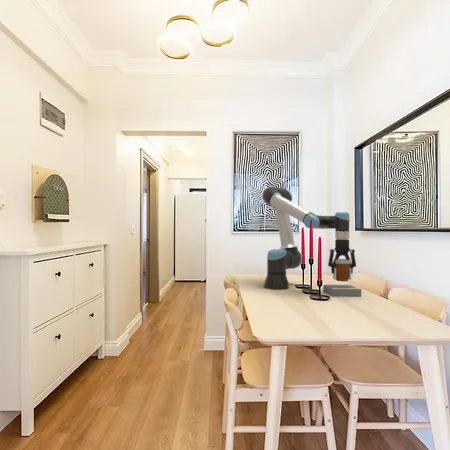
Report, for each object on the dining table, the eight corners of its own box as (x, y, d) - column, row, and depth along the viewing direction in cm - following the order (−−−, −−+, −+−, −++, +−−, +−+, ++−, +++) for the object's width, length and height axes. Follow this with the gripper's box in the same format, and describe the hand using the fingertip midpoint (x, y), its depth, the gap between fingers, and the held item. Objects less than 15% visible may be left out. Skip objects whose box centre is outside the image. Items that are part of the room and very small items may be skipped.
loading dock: (332, 296, 179) (332, 288, 179) (323, 291, 193) (323, 284, 193) (361, 296, 180) (361, 288, 180) (349, 291, 194) (350, 284, 194)
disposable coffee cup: (329, 279, 189) (329, 258, 189) (342, 278, 193) (342, 258, 193) (341, 282, 180) (342, 260, 180) (354, 281, 184) (354, 259, 184)
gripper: (326, 239, 182) (326, 280, 182) (363, 239, 184) (363, 280, 183) (321, 238, 190) (321, 278, 189) (357, 239, 191) (356, 278, 191)
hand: (342, 279), depth 186 cm, fingers closed on disposable coffee cup, 8 cm apart
